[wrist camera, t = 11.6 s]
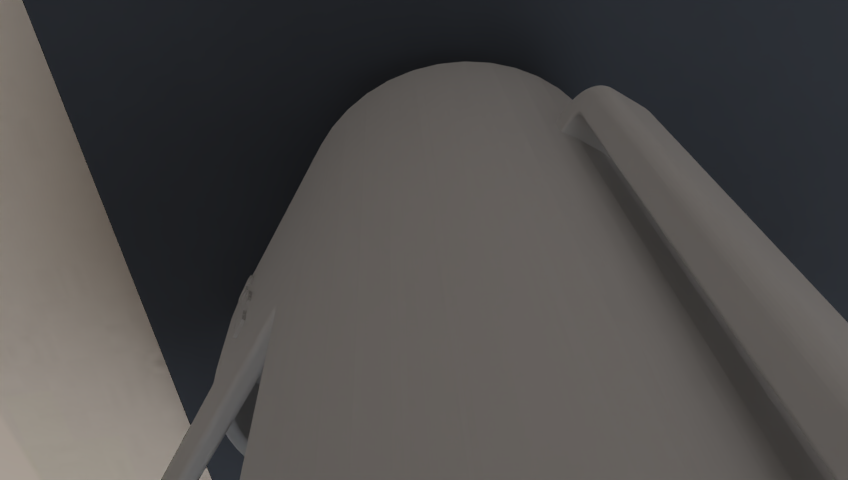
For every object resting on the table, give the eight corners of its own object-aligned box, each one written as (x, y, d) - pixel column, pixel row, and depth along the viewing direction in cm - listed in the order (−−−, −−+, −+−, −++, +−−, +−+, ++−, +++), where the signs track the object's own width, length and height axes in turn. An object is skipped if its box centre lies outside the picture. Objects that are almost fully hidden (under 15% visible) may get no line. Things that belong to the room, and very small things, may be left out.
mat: (275, 618, 23) (272, 635, 23) (-28, -176, 10) (-49, -175, 10) (825, 563, 23) (835, 579, 23) (1232, -281, 10) (1276, -286, 10)
